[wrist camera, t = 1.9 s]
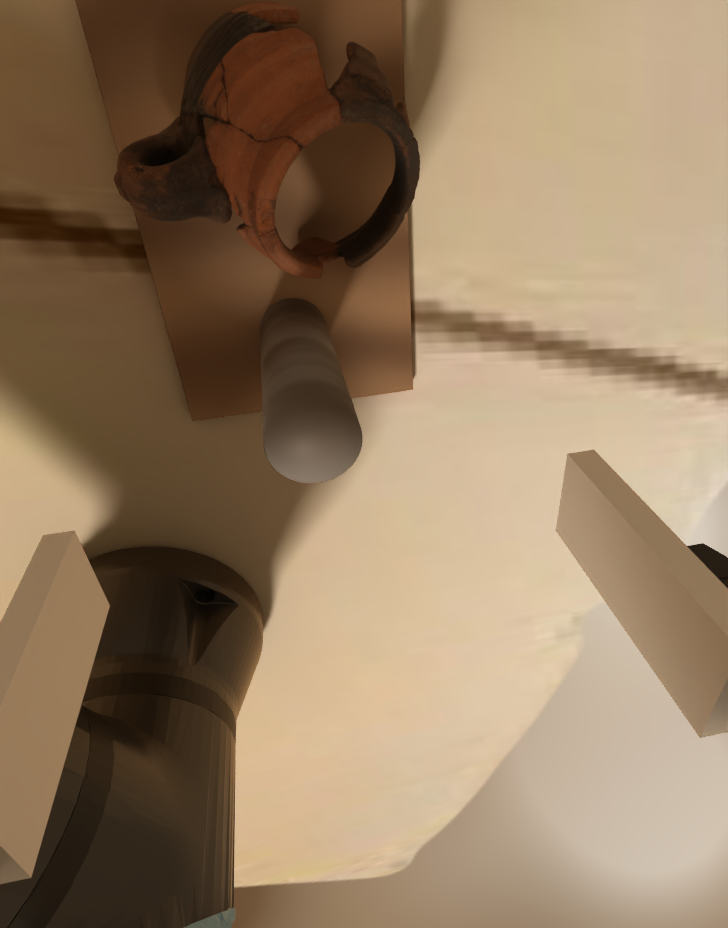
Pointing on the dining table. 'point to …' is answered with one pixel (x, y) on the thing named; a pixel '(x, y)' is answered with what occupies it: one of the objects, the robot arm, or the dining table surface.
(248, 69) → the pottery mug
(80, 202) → the dining table surface
